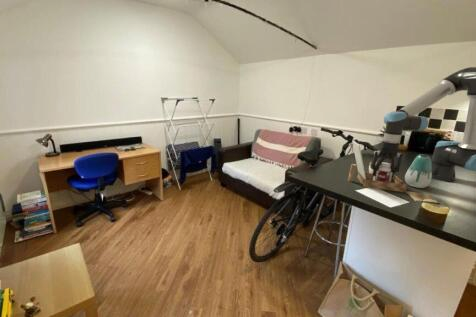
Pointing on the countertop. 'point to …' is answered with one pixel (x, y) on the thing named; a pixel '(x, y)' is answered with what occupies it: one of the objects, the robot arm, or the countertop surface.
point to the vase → (419, 172)
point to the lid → (359, 159)
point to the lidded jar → (370, 168)
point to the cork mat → (419, 196)
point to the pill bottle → (384, 172)
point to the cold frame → (369, 183)
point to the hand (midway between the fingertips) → (381, 181)
